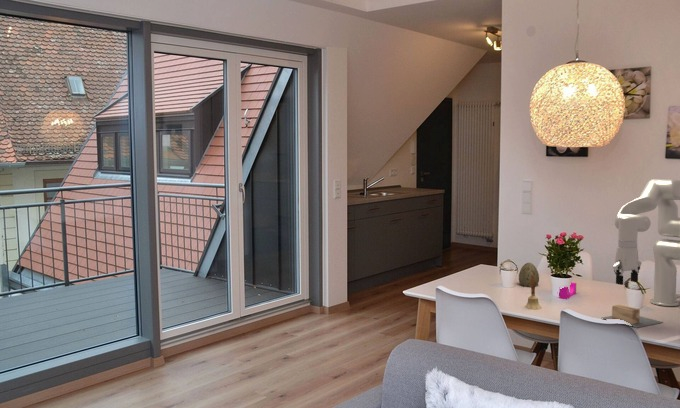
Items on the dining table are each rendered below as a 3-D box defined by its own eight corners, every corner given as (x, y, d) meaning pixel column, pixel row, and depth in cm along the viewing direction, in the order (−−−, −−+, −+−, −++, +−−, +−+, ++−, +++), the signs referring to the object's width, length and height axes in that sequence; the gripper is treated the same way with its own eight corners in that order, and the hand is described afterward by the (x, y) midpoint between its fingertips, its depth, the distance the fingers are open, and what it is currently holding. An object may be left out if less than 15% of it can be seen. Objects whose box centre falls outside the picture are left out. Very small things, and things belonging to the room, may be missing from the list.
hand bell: (525, 310, 294) (526, 277, 292) (522, 306, 302) (523, 274, 301) (543, 310, 292) (544, 277, 291) (540, 306, 301) (540, 274, 300)
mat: (627, 313, 285) (627, 313, 285) (663, 322, 270) (663, 321, 270) (600, 318, 277) (600, 317, 277) (636, 328, 261) (636, 327, 261)
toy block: (563, 295, 326) (564, 281, 326) (576, 297, 322) (576, 282, 322) (554, 300, 314) (554, 286, 314) (566, 302, 310) (567, 287, 310)
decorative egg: (526, 286, 348) (526, 260, 347) (542, 289, 339) (543, 262, 338) (514, 289, 341) (514, 262, 340) (531, 292, 333) (531, 265, 332)
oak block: (619, 317, 277) (619, 304, 277) (639, 322, 268) (639, 309, 268) (612, 319, 275) (612, 305, 274) (631, 324, 266) (632, 310, 266)
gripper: (633, 241, 276) (632, 279, 278) (607, 245, 268) (606, 283, 270) (648, 243, 270) (647, 282, 271) (622, 247, 262) (621, 286, 263)
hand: (626, 282), depth 270 cm, fingers open, 9 cm apart
